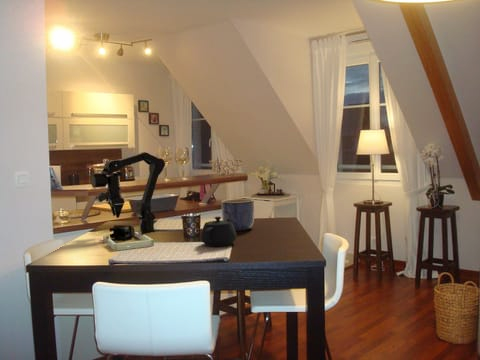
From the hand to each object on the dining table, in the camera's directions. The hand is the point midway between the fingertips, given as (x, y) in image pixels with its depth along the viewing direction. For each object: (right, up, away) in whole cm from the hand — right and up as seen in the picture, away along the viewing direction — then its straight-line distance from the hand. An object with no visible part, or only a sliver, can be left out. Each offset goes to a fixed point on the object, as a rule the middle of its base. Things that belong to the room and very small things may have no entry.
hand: (116, 216), depth 239 cm
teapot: (+53, -10, -30) cm, 62 cm away
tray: (+13, -11, -24) cm, 29 cm away
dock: (+5, -10, -9) cm, 14 cm away
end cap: (+5, -11, -8) cm, 15 cm away
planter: (+61, -7, +6) cm, 62 cm away
